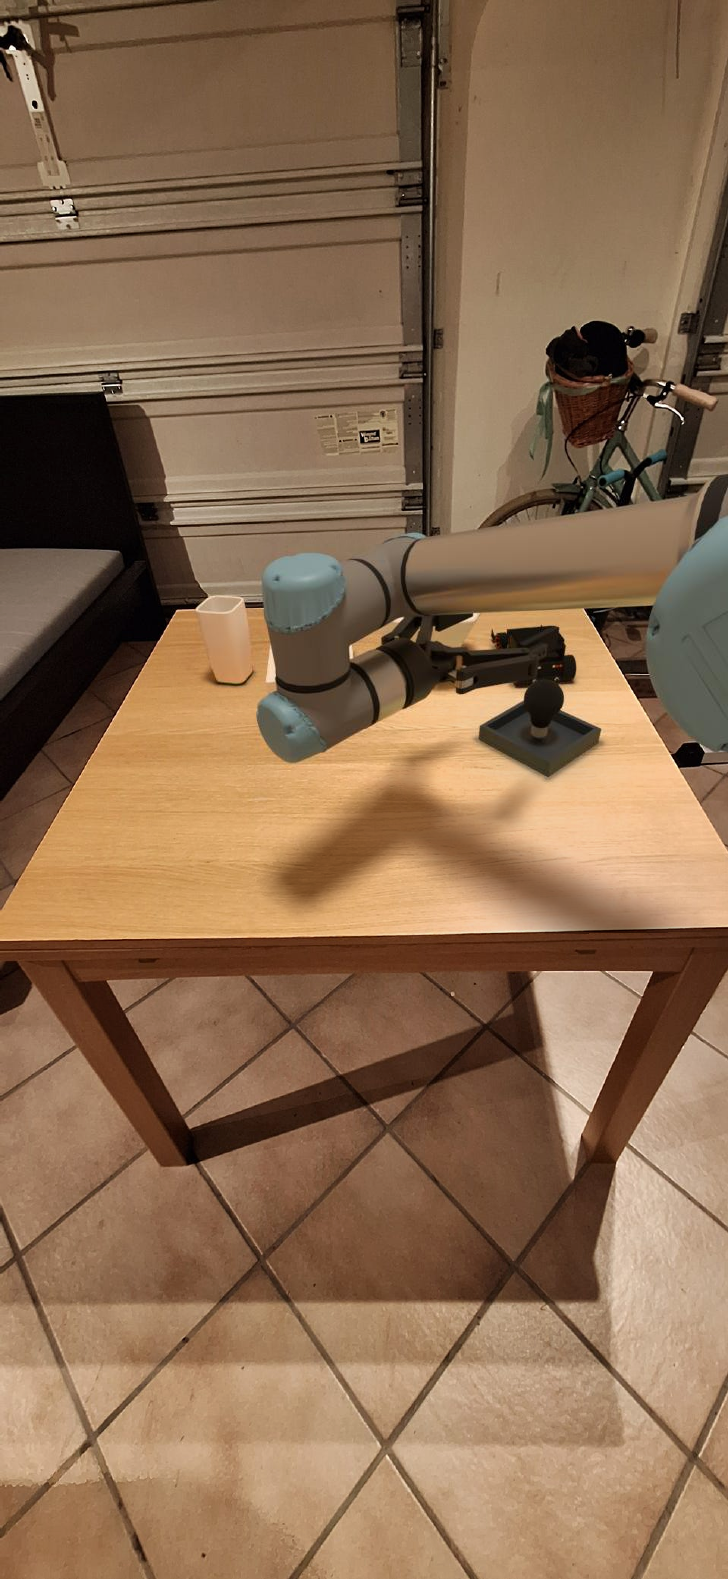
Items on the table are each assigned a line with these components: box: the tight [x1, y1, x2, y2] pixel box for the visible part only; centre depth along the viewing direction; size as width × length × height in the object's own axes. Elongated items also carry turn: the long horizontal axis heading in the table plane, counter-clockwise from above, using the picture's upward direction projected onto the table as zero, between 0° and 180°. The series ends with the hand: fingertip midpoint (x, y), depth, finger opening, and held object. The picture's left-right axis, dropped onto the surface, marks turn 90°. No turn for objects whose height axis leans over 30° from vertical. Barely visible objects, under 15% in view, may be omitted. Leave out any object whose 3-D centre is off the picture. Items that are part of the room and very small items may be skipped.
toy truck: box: [490, 624, 577, 686], centre depth 118 cm, size 10×20×7 cm, turn 5°
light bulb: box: [523, 679, 565, 739], centre depth 96 cm, size 6×6×10 cm
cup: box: [195, 595, 253, 685], centre depth 117 cm, size 7×7×15 cm
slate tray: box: [478, 699, 602, 778], centre depth 99 cm, size 14×13×3 cm
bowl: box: [379, 613, 482, 647], centre depth 115 cm, size 19×19×14 cm
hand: (511, 620), depth 81 cm, fingers open, 13 cm apart
